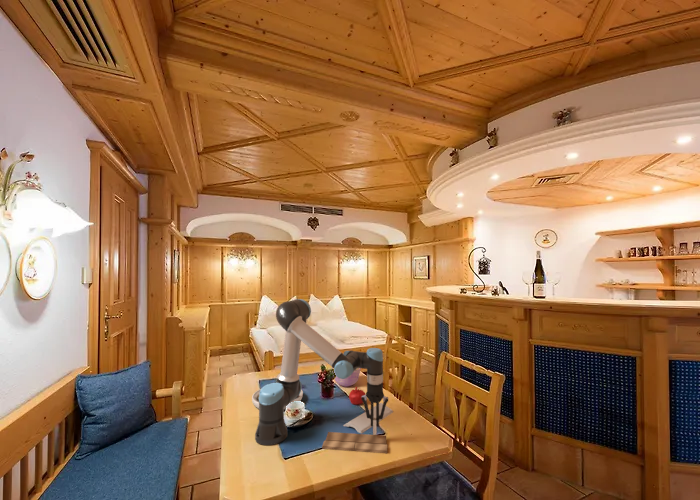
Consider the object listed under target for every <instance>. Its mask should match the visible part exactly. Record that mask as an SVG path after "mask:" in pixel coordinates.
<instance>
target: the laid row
mask: <svg viewBox="0 0 700 500" xmlns="http://www.w3.org/2000/svg"><path fill="white" fill-rule="evenodd" d="M321 448H322V450H334V451H349V452H362V453H363V452H365V453H376V454H377V453H378V454H388V444H387V443H386V444H371V443H355V442H341V441H327V440H326V439H325V440H323V442H322V446H321Z"/></svg>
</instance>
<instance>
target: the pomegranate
mask: <svg viewBox="0 0 700 500" xmlns="http://www.w3.org/2000/svg"><path fill="white" fill-rule="evenodd" d="M364 395H366V393H365V391H364V390H363V389H361V387H359V388H358V387H357V386H355V388H354V389H351V391H350V392H349V394H348V399H349V402H350V404H351V405H362V404H364V403H363V401H362V399H361V398H362V396H364Z"/></svg>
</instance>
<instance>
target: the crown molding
mask: <svg viewBox="0 0 700 500" xmlns="http://www.w3.org/2000/svg"><path fill="white" fill-rule="evenodd" d="M382 406H383V402H379V415H380V414H381V410H382ZM368 409H369V413H370V415H371V408H368ZM393 413H394V410H393V409H392V408H390V407H389V406H387V405H386V407H385V411H384V415H383V419H380V420H379V423H380V422H381V421H382V420H384V419H386V418H388V417H389V416H390V415H392V414H393ZM373 418H376V405H374V417H373ZM342 426H343V427H345V428H346V427H347V428H349V427H351V428H353V429H355V430H356V431H357V433H358V434H364V433H366V431H367V430H369V429H371V428H373V427H372V426H371V419H370V418H367V415H366V411H364V412H363V413H362V414H359V415H358V416H356V417H355V418H353V419H351V420H350V421H347V422H346V423H345V424H343V425H342Z"/></svg>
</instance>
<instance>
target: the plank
mask: <svg viewBox="0 0 700 500" xmlns="http://www.w3.org/2000/svg"><path fill="white" fill-rule="evenodd" d="M325 440H327V441H341V442H355V443H371V444H386V445H387V435H380V434H376V435H373V434H368V433H367V434H366V433H362V434H361V433H350V432H338V431H337V432H335V431H334V432H333V431H327V435H326V437H325Z"/></svg>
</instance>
